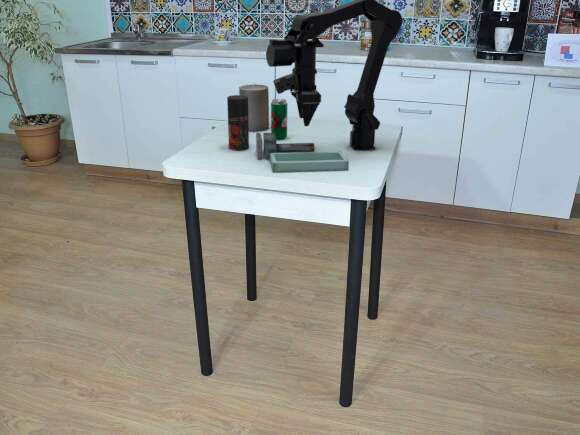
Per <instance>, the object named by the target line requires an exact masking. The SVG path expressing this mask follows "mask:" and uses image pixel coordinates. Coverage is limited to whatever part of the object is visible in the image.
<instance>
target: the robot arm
mask: <svg viewBox="0 0 580 435" xmlns="http://www.w3.org/2000/svg"><path fill="white" fill-rule="evenodd" d="M360 16H364V18H366V19H367V20H368V21H370V22H371V25H370V35H371V43H370V47H369V50H368V53H367V57H366V60H365V64H364V67H363V70H362V73H361V76H360V80H359V83H358V87H357V89H356V91H355V92H353V94H350V93H349V94H347V97H346V103H345V104H344V106H343V108H345V110H344V114H345V116H346V118H347V119H348V121H349V122H348V123H349V124H350V125H352V128H351V129H352V130H350V133H349V145H350V147H351V148H353V150H354V151H356V150H357V151H358V150H359V151H361V150H362V151H363V150H364V151H366V150H369V151H370V150H376V149H377V148H376V147H375V138H376V130H377V131H378V130H379V127H380V125H381V121H380V120H379V119H378V118H377V116H375V115H374V112H375V107H376V105H375V97H374V96H375V95H374V94H375V91H376V87H377V84H378V81H379V77H380V75H381V71H382V68H383V65H384V62H385V59H386V55H387V52H388V48H389V46H390V44H391V43H392V42H393V40H395V38H396V37H397V36H398V34H399V31H400V30H401V27H402V25H403V21H404V20H403V17H402V14H401V13H400V11H398V10H396V9H390V7H387V6H385V5H383V4H382V3H380V2H378V1H376V0H352V1H350V2H346V3H344V4H340V5H338V6H335V7H333V8H329V9H327V10H324V11H318V12H311V13H304V14H298V15H296V16H295V17H294V18H293V21H292V22H291V23H292V24H291V27H290V29H289V30H288V32H287V34H286V35H285V37H284V38H283V39H269V40H268V42H269V44H268V45H267V48H266V51H265V58H266V63H267V65H268V66H269V67H270V68H275V67H291V66H292V65H293V64H294V66H293V68H292V69H291V73H289V74H286V75H284V76H280V77H278V78H276V79H274V80H273V81H272V82H273V85H274V87H275V90H276V93H277V94H278V95H280V94H284V92H286V91H290V94H291V96H292V97H293V98H294V99H295V100H296V101H295V102H296V106H297V112H298V116H299V119H303V125H304V127H309V126H310V125H311V124H310V123H311V121H312V119H313V117H314V116H315V113H316V111H317V109H318V107H319V106H320V103H322V94H321V93H320V92H319V91H318V90H317V84H316V75H317V74H318V70H317V69H316V66H317V65H316V64H317V48H324V47H325V46H324V43H323V42H321V40H320V39H319V38H318V37H320V35H322V34H324V33H325V32H326V31H327V30H328V29H330V28H331V27H333V26H336V25H339V24H341V23H344V22H347V21H349V20H351V19H354V18H358V17H360Z"/></svg>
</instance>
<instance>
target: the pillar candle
mask: <svg viewBox="0 0 580 435" xmlns="http://www.w3.org/2000/svg"><path fill="white" fill-rule="evenodd" d="M238 93H239V94H238V95H243V96H247V97H248V121H249V132H251V133H252V132H255V133H257V132H262V131H266V130H269V129H270V104H269V103H270V100H269V97H270V96H269V93H270V92H269V86H268V85H266V84H256V83H255V82H254V83H253V84H244V85H240V86H239V87H238Z"/></svg>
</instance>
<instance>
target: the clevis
mask: <svg viewBox="0 0 580 435" xmlns="http://www.w3.org/2000/svg"><path fill="white" fill-rule="evenodd" d="M255 139H256V140H255V148H256V149H255V150H256V157H257V160H258V161H260V160H261V161H262V160H263V148H264V144H265V155H264V158H265V161H266V160H267V161H268V160H269V161H270V153H276V149H277V144H278V143H277V141H278V140H276V137H275V135H274V133H271V132H263V137H262V134H261V132H255Z"/></svg>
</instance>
